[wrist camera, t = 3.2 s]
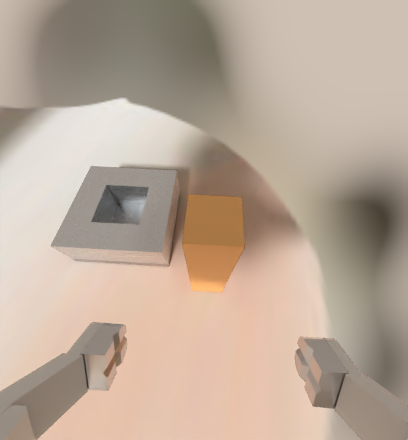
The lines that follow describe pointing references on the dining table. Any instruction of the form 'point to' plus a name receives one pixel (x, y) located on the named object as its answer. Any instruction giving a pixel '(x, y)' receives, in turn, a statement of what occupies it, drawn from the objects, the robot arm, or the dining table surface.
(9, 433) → the robot arm
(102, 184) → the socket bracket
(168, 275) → the dining table surface
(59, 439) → the dining table surface
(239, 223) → the rectangular peg
